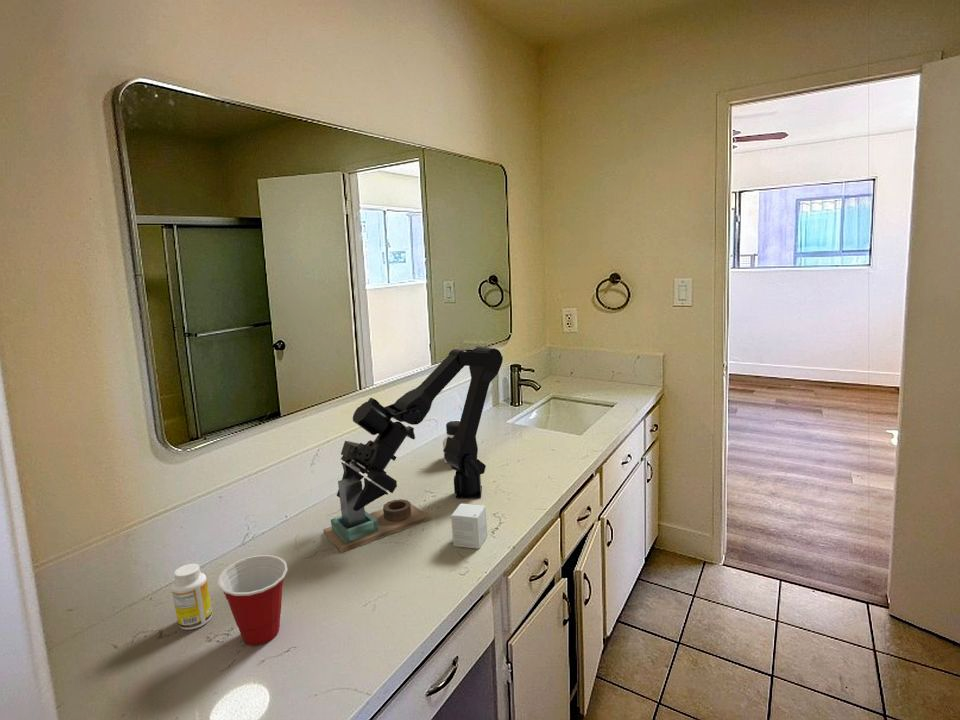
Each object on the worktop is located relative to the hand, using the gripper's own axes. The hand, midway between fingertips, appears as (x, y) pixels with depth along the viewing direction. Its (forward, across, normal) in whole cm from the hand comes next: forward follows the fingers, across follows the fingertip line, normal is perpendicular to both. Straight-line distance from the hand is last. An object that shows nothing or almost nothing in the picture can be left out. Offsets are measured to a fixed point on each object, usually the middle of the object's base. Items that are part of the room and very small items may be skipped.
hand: (346, 503), depth 126 cm
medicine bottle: (-26, -23, +38) cm, 51 cm away
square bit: (+4, 0, +6) cm, 7 cm away
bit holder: (+1, 0, +11) cm, 11 cm away
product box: (-8, +20, +20) cm, 29 cm away
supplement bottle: (+30, +10, -18) cm, 36 cm away
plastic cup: (+24, +22, -12) cm, 35 cm away
